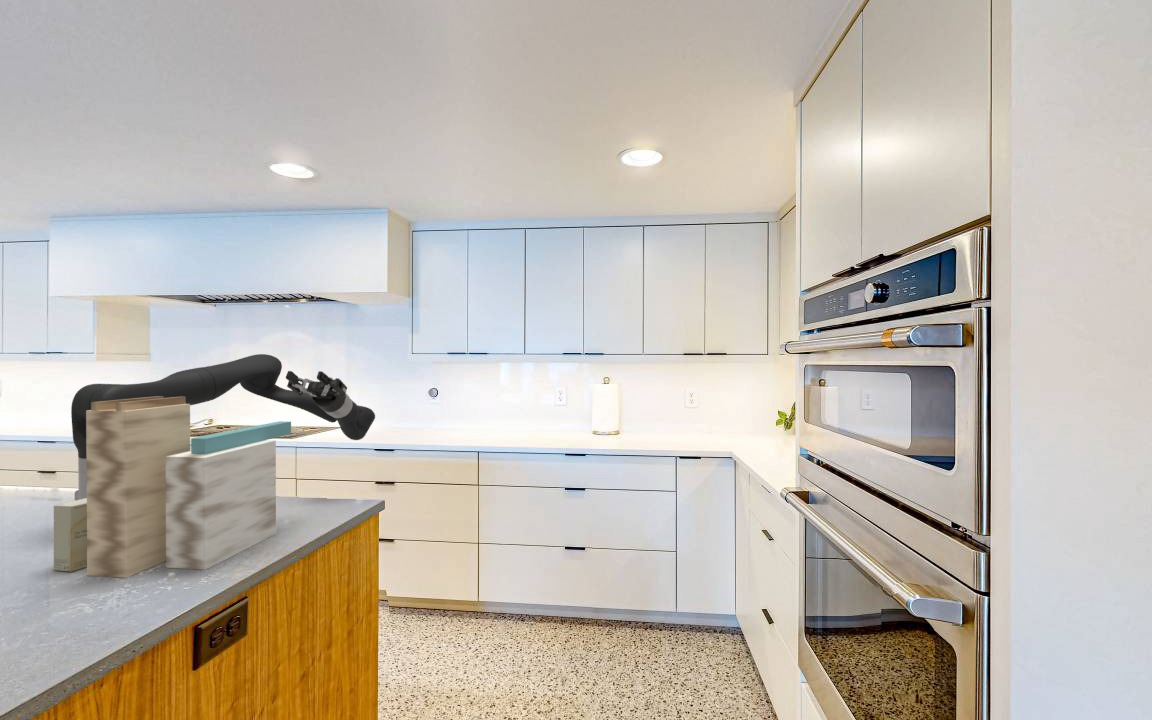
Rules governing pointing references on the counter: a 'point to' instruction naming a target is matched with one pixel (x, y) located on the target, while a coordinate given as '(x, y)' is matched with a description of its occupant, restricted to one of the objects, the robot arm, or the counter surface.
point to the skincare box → (70, 535)
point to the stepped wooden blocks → (169, 491)
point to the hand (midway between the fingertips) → (303, 374)
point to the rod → (239, 437)
